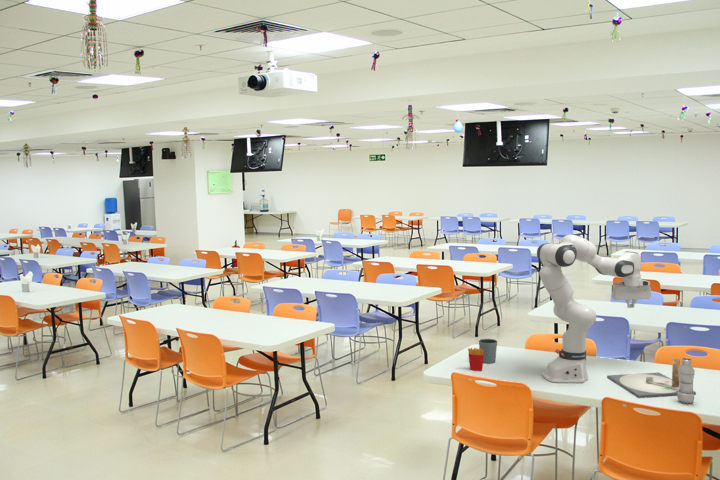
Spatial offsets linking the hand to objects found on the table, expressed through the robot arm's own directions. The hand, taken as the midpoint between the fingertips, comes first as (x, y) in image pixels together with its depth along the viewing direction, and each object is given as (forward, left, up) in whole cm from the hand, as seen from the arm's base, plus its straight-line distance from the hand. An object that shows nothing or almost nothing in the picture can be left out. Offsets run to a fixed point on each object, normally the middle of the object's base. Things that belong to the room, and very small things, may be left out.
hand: (630, 307), depth 301 cm
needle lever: (-2, -31, -31) cm, 44 cm away
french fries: (-81, +11, -33) cm, 88 cm away
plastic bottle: (-1, -48, -33) cm, 58 cm away
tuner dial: (-5, -26, -33) cm, 42 cm away
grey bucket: (-70, +24, -33) cm, 81 cm away
